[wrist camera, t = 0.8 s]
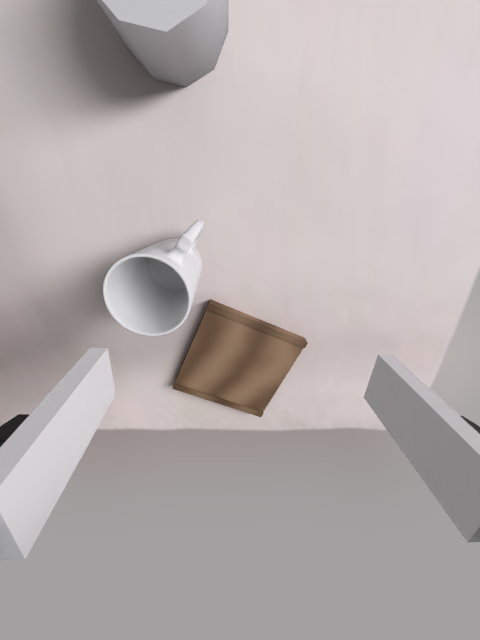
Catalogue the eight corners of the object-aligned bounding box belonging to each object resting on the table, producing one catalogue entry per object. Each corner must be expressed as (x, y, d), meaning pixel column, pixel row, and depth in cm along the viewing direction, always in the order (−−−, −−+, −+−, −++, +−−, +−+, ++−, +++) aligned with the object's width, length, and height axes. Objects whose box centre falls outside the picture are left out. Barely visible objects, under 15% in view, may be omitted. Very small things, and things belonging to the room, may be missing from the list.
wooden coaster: (174, 381, 38) (172, 388, 37) (210, 299, 33) (209, 303, 32) (259, 410, 41) (260, 417, 39) (304, 337, 36) (307, 343, 34)
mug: (184, 302, 33) (162, 350, 22) (137, 270, 31) (87, 306, 20) (231, 236, 30) (233, 255, 19) (182, 197, 28) (153, 193, 17)
